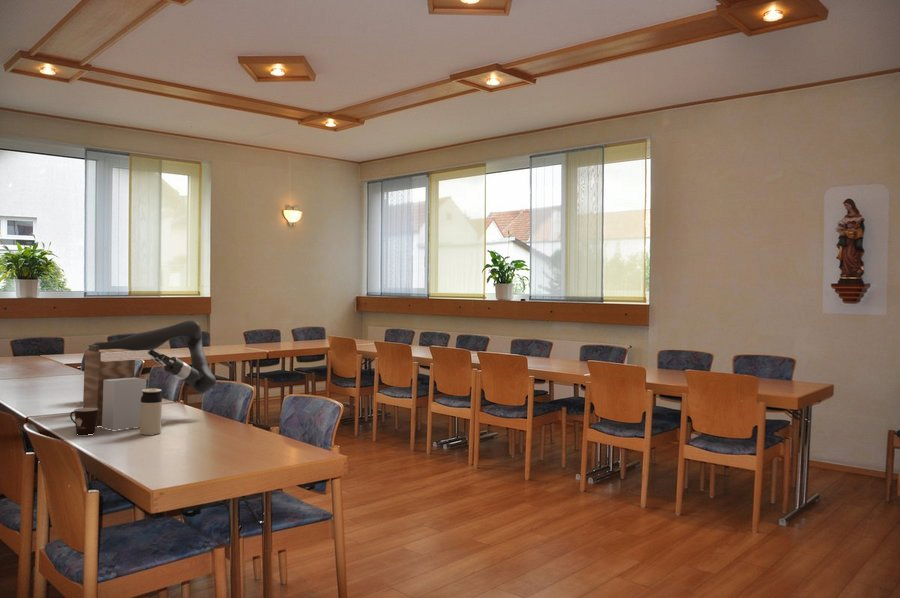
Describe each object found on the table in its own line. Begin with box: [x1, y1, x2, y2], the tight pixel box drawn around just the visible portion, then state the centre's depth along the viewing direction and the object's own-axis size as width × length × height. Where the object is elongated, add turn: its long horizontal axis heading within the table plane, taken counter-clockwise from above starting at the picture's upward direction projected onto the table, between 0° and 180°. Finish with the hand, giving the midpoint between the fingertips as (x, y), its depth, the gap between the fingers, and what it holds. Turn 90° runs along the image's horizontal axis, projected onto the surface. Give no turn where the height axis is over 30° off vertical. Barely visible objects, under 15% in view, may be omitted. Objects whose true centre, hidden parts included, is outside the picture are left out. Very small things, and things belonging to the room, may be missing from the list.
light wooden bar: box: [101, 349, 160, 362], centre depth 294 cm, size 24×4×4 cm, turn 144°
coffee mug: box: [69, 407, 98, 436], centre depth 278 cm, size 12×9×10 cm
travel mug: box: [139, 388, 163, 436], centre depth 283 cm, size 8×8×18 cm
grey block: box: [101, 376, 148, 430], centre depth 293 cm, size 14×9×20 cm, turn 144°
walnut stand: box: [82, 344, 136, 427], centre depth 300 cm, size 16×12×34 cm
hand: (147, 351), depth 300 cm, fingers closed on light wooden bar, 3 cm apart
